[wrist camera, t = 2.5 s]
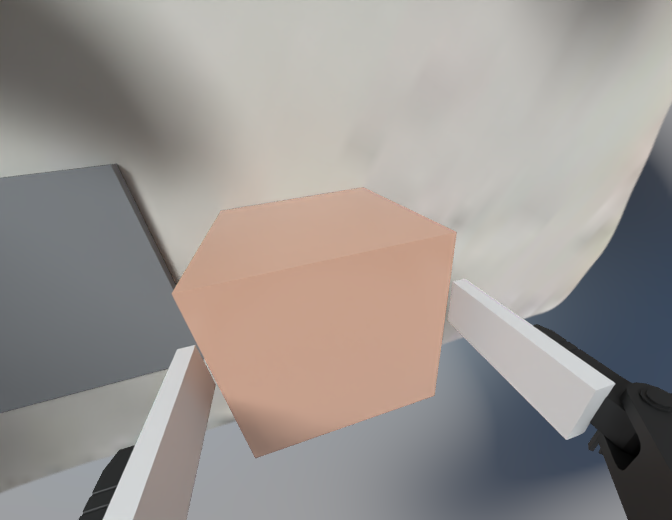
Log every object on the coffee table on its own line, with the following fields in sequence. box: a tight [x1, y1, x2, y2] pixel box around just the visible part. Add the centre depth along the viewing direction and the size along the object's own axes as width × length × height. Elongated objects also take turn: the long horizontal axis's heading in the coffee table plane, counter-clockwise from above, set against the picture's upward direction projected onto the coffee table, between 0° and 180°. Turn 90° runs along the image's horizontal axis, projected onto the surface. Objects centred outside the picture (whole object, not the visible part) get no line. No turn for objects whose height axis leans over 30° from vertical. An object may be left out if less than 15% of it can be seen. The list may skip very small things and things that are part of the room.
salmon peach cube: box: [172, 187, 457, 458], centre depth 15 cm, size 10×10×10 cm
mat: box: [0, 164, 204, 413], centre depth 16 cm, size 15×15×1 cm
